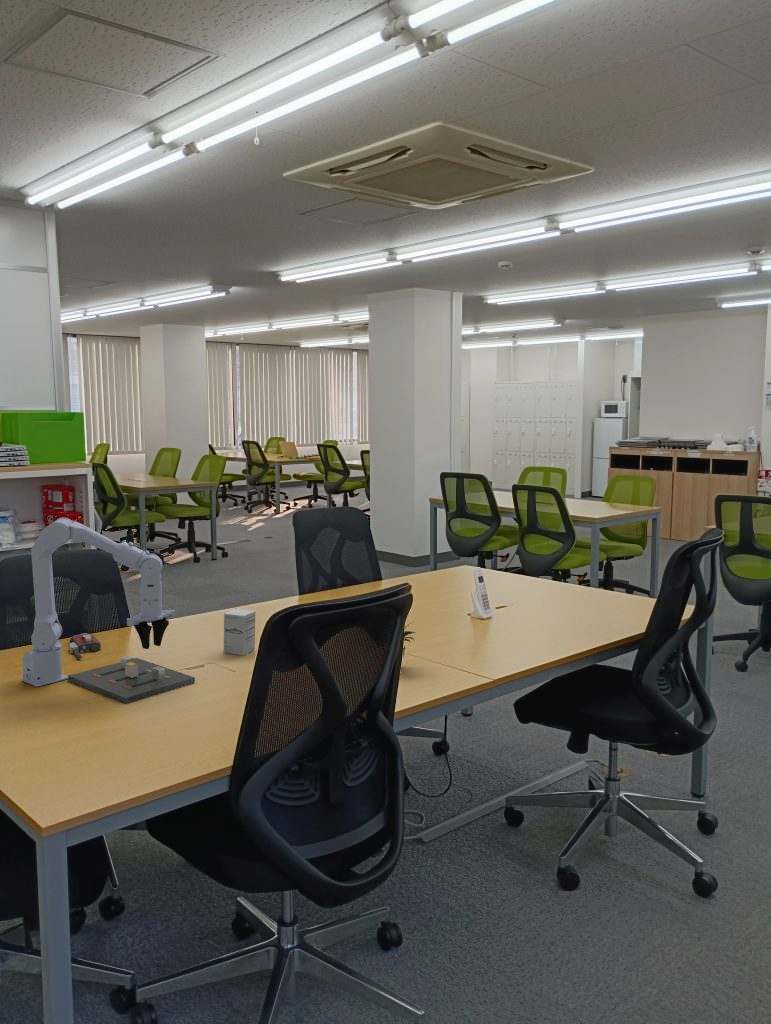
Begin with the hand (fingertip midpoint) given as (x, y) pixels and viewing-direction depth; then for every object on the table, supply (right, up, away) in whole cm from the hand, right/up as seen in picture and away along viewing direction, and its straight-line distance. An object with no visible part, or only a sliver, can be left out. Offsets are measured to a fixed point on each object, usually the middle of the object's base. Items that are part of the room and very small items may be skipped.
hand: (151, 646), depth 230 cm
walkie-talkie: (-27, -5, +23) cm, 36 cm away
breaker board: (-4, -9, -4) cm, 11 cm away
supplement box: (+20, -6, +27) cm, 34 cm away
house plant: (+66, -9, +15) cm, 68 cm away
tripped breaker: (-4, -7, -4) cm, 9 cm away
